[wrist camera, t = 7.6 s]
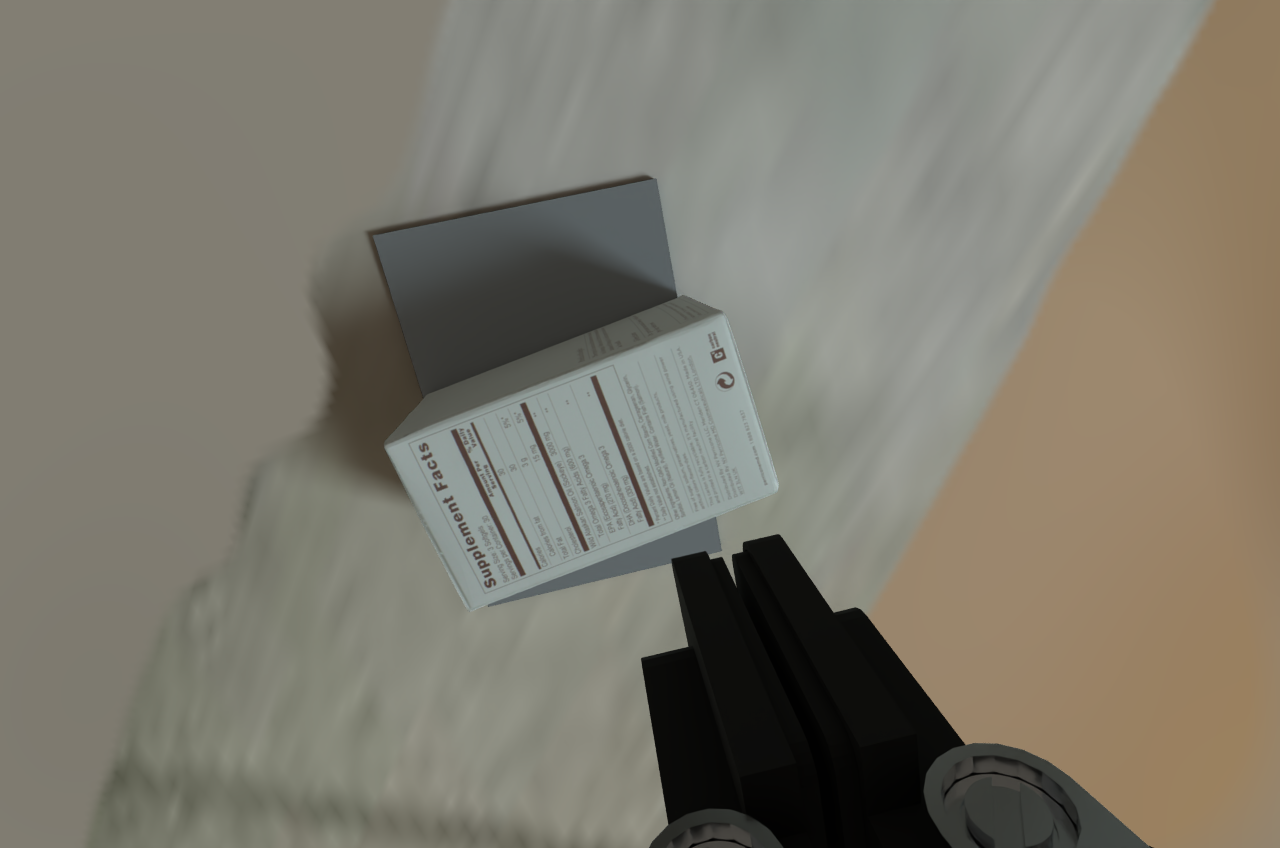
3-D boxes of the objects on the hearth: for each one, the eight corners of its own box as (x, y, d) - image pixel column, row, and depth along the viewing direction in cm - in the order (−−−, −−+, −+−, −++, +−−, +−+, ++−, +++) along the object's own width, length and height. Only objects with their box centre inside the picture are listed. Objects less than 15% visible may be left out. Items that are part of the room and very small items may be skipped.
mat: (655, 179, 27) (656, 178, 27) (719, 547, 32) (721, 551, 32) (375, 235, 26) (372, 235, 26) (489, 602, 32) (488, 606, 31)
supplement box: (734, 436, 30) (489, 530, 30) (686, 289, 28) (420, 390, 28) (786, 498, 23) (466, 620, 23) (727, 308, 21) (372, 443, 21)
